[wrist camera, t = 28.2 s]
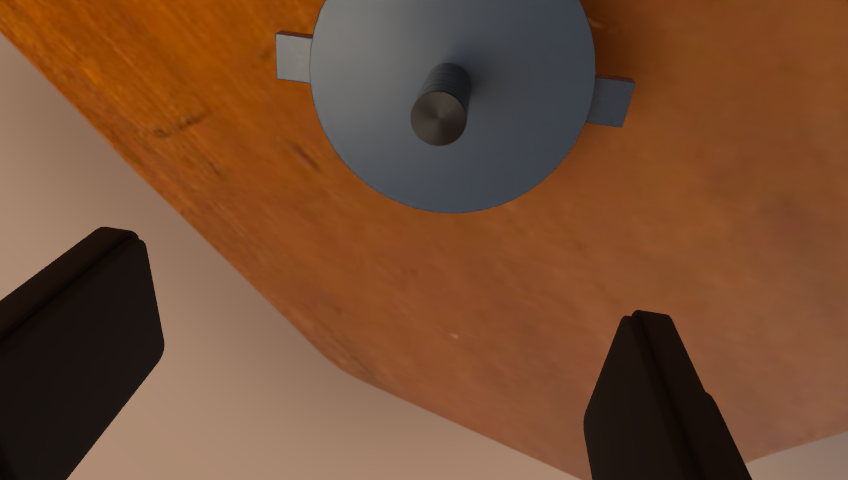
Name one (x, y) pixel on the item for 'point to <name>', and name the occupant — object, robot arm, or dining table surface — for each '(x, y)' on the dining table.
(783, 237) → the dining table surface
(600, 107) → the pot
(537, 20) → the pot lid
